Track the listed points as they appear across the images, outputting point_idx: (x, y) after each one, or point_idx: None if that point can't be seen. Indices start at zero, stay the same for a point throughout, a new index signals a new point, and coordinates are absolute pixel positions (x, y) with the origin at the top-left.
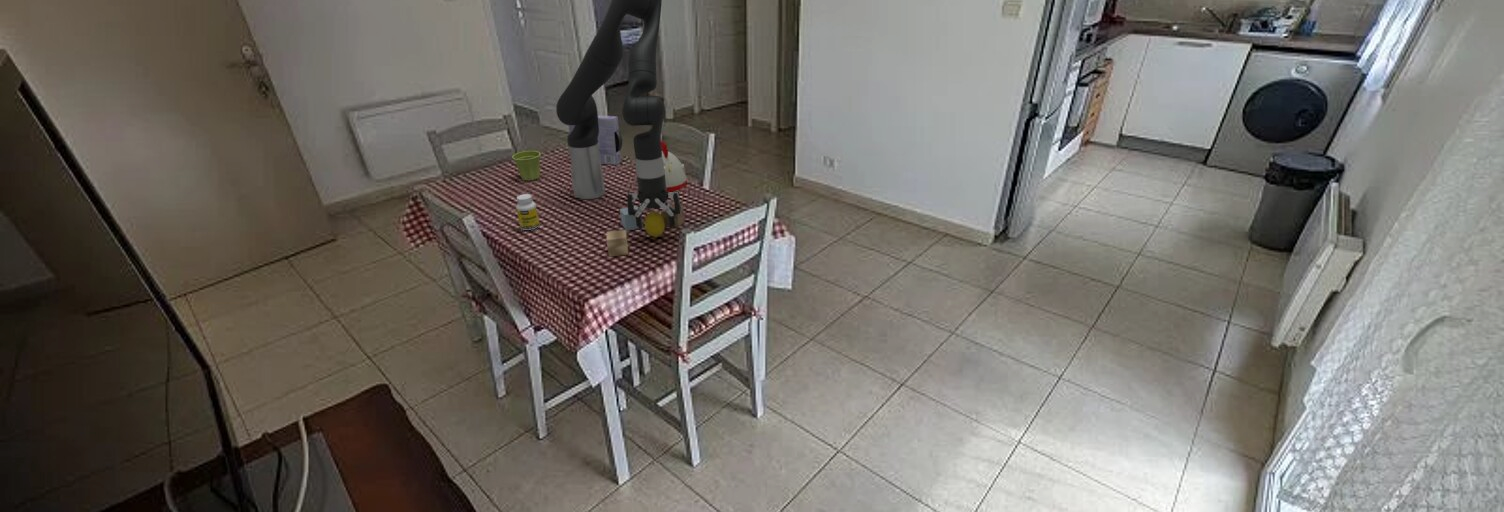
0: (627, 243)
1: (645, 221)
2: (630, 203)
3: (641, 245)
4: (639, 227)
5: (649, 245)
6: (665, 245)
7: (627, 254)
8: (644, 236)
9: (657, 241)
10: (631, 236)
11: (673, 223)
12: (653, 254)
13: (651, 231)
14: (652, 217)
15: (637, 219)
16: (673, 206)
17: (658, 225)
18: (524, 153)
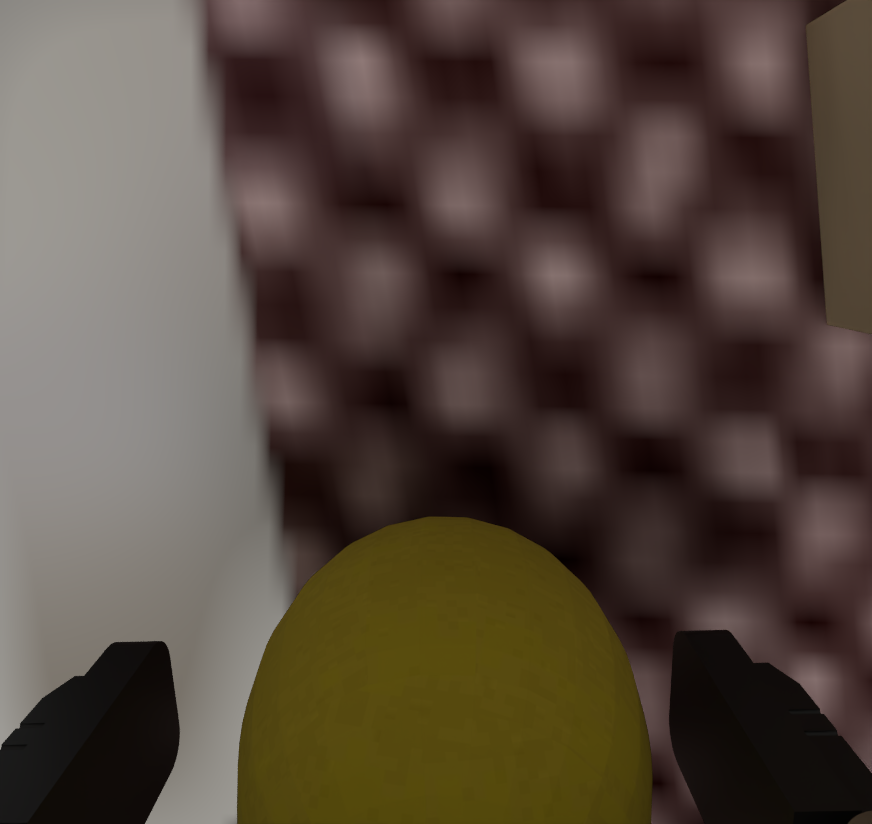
0: (864, 282)
1: (631, 719)
2: None
3: (622, 343)
4: (729, 639)
5: (501, 341)
6: (260, 338)
7: (815, 21)
8: (613, 619)
9: (403, 467)
10: (798, 623)
11: (50, 712)
12: (389, 23)
13: (482, 528)
14: (449, 773)
15: (839, 783)
16: None
17: (326, 606)
18: None
